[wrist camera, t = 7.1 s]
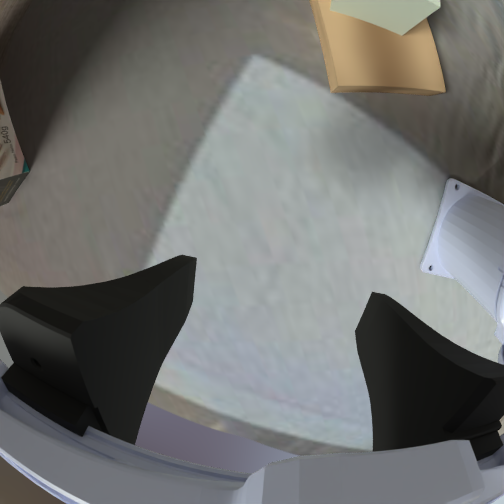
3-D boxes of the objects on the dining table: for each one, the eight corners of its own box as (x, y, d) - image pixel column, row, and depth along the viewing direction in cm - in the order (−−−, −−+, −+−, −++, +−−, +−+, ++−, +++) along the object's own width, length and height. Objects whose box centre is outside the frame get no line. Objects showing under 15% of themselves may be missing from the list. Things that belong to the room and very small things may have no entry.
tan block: (383, -39, 10) (393, -55, 8) (426, 96, 15) (445, 92, 13) (292, -45, 12) (293, -65, 9) (329, 93, 17) (338, 85, 14)
